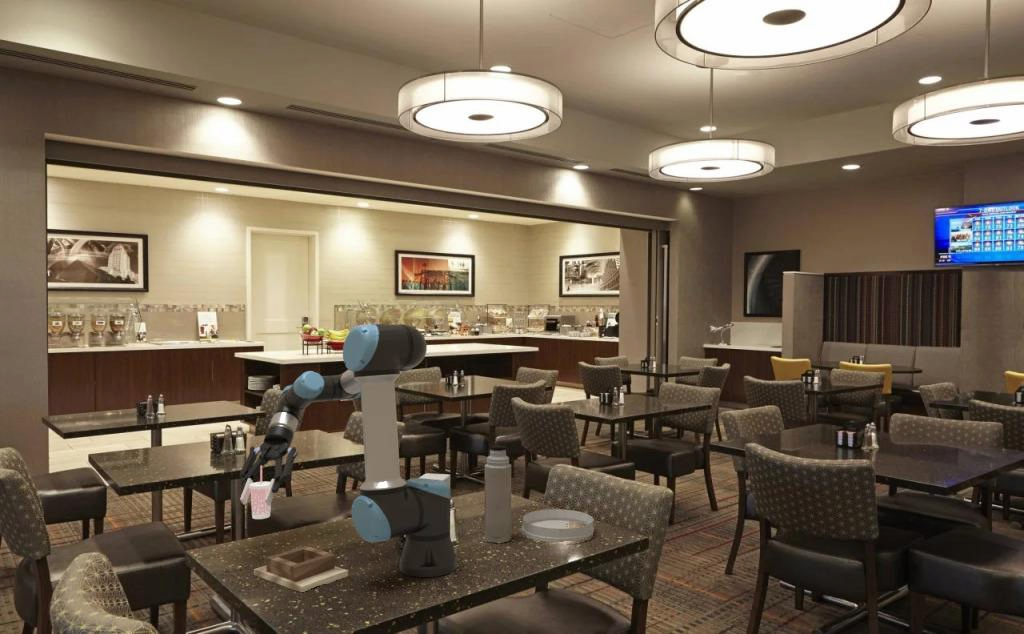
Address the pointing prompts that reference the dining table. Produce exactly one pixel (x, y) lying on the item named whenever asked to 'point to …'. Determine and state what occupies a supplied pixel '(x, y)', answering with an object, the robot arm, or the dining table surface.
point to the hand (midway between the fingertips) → (255, 502)
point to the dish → (556, 525)
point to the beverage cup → (259, 499)
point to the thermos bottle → (497, 495)
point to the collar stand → (301, 569)
